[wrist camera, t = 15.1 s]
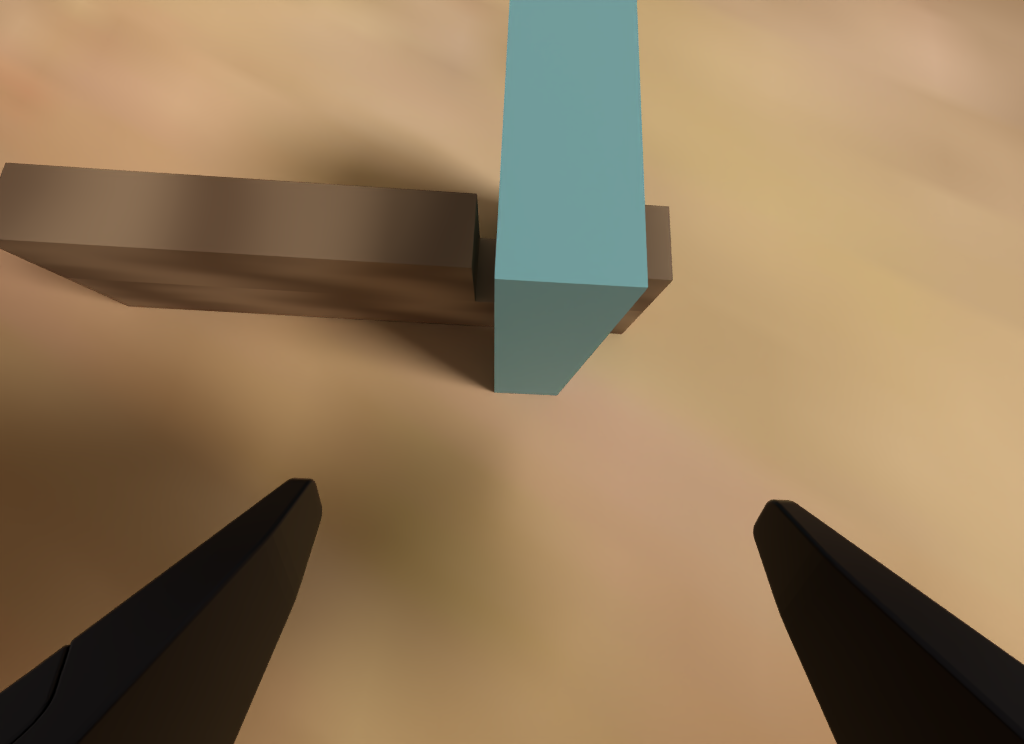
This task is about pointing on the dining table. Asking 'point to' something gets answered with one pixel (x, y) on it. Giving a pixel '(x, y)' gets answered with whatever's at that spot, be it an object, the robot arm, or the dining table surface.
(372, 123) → the dining table surface
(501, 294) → the teal notched plate
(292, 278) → the walnut rail
